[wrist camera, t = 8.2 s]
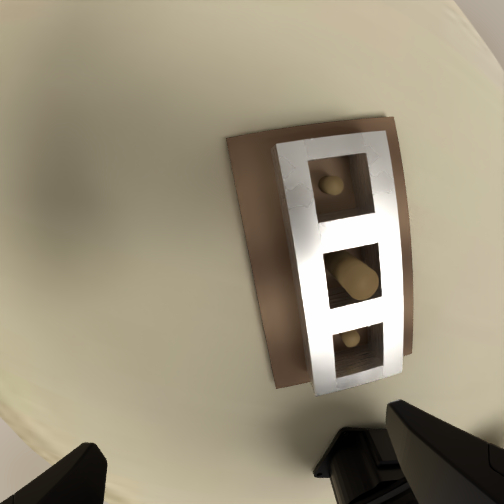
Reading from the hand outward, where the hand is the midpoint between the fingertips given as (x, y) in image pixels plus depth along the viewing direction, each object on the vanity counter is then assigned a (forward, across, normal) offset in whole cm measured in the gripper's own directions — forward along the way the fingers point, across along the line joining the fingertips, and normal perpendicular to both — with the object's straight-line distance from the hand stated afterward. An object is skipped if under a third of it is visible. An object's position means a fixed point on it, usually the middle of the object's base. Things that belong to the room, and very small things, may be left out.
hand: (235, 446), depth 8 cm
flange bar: (+11, -6, -1) cm, 13 cm away
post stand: (+12, -6, -1) cm, 14 cm away
